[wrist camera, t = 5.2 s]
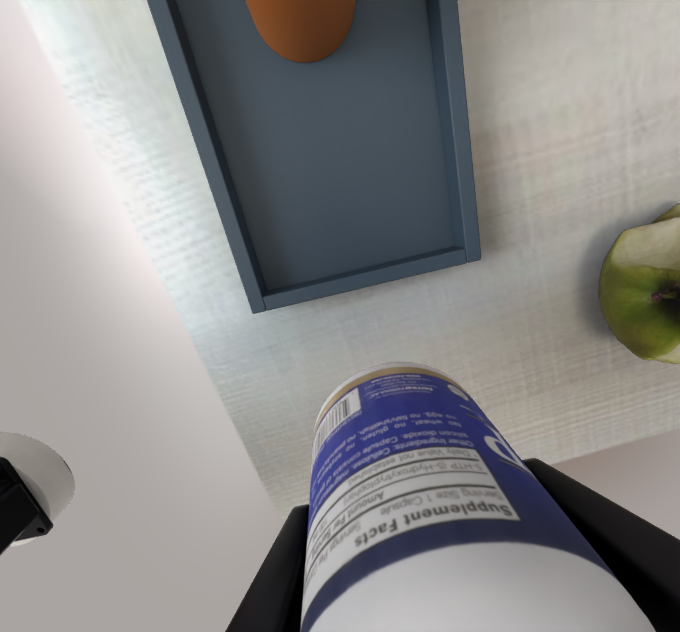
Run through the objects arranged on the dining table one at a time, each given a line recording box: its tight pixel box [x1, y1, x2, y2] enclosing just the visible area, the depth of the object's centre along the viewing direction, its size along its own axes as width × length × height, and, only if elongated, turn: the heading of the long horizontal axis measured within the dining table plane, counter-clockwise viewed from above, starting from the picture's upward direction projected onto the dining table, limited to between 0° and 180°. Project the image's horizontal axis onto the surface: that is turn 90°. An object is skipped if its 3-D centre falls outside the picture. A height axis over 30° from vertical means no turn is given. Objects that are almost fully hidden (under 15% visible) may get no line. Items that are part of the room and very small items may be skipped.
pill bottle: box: [300, 362, 656, 632], centre depth 6 cm, size 5×5×9 cm
